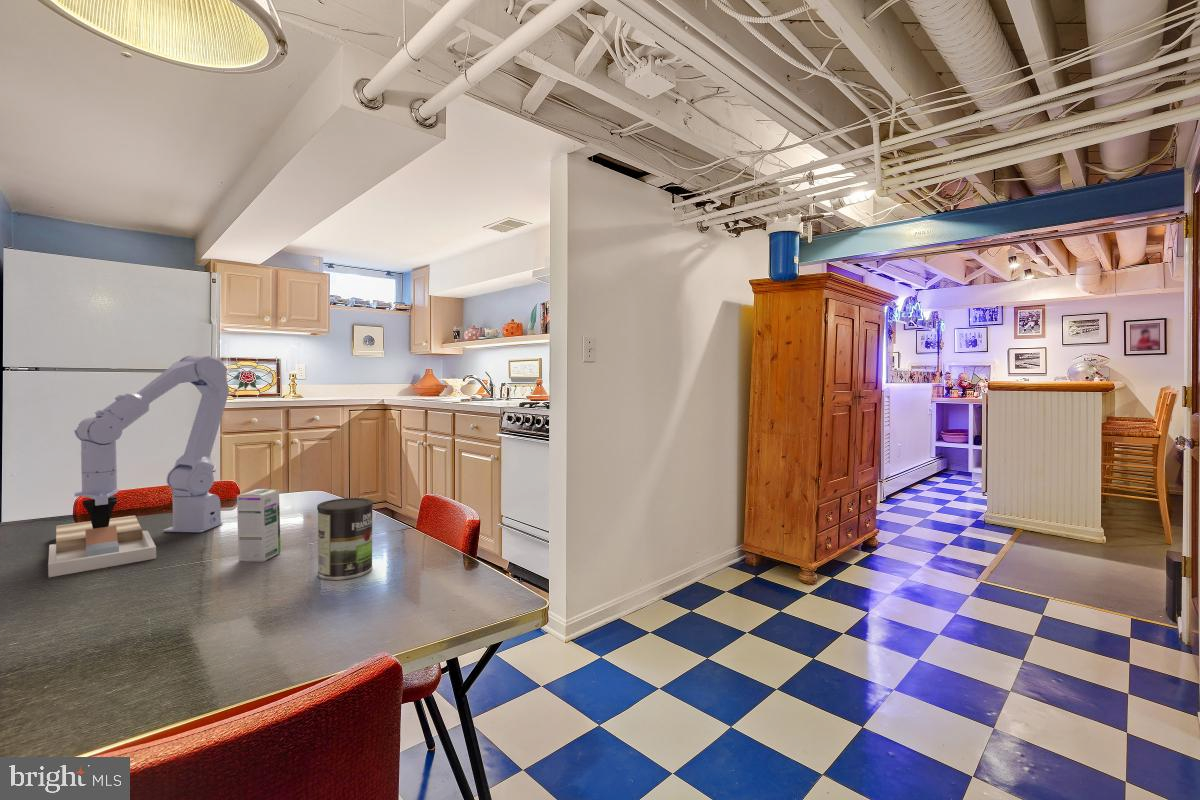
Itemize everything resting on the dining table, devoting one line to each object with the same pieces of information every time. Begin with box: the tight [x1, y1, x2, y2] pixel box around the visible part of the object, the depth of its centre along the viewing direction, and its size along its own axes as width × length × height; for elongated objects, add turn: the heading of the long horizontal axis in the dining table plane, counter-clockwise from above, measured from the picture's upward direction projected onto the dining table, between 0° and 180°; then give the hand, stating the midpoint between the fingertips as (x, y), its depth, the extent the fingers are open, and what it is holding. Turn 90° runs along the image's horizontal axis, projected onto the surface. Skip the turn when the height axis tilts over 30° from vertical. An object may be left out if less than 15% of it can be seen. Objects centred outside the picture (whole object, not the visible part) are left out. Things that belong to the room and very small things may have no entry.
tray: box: [47, 530, 157, 578], centre depth 113 cm, size 16×16×2 cm
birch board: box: [55, 515, 143, 553], centre depth 125 cm, size 16×14×3 cm
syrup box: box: [236, 488, 282, 563], centre depth 115 cm, size 6×6×14 cm
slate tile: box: [86, 541, 119, 557], centre depth 113 cm, size 5×5×2 cm
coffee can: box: [316, 497, 374, 581], centre depth 109 cm, size 10×10×14 cm
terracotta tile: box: [85, 526, 118, 545], centre depth 117 cm, size 5×5×2 cm
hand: (100, 531), depth 119 cm, fingers closed
